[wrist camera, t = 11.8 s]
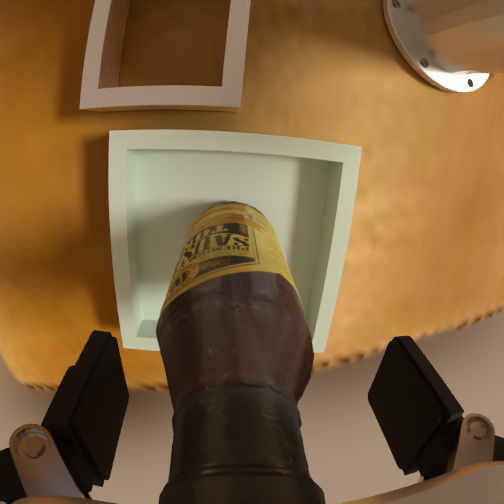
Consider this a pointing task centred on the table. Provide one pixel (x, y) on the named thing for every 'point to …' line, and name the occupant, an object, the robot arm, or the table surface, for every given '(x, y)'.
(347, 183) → the tray
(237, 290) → the sauce bottle
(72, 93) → the table surface
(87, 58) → the box
